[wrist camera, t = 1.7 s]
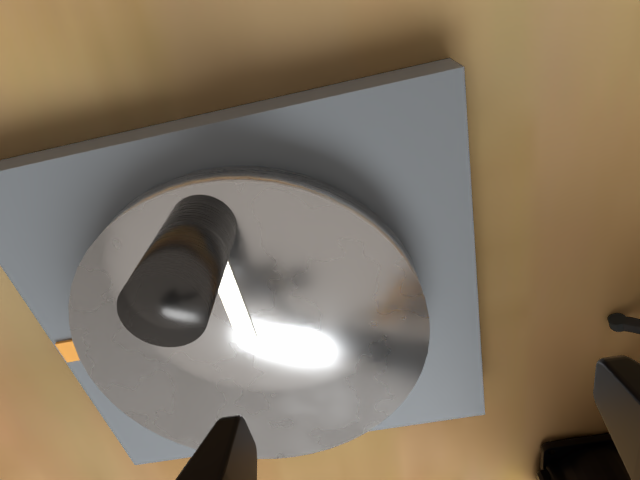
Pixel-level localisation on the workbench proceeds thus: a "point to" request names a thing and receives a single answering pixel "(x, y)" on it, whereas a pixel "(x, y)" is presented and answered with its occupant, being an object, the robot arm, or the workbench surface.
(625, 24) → the workbench surface
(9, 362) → the workbench surface
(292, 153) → the stand plate
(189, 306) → the dial
